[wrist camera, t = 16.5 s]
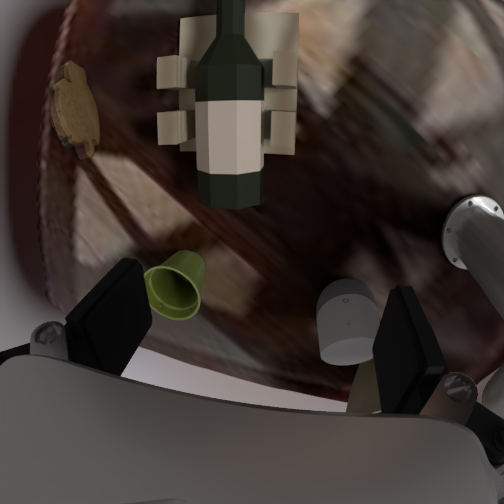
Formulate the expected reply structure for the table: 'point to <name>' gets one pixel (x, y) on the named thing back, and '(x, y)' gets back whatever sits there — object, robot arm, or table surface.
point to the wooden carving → (74, 110)
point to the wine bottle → (230, 115)
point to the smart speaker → (346, 322)
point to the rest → (275, 86)
